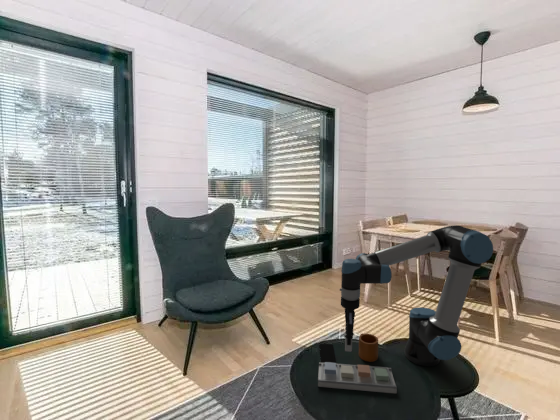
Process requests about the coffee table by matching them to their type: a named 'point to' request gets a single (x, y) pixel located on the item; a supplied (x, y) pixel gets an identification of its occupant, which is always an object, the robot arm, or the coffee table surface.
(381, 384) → the keypad
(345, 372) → the key cream
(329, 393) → the coffee table surface
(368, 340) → the mug
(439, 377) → the coffee table surface
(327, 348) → the smartphone
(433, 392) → the coffee table surface
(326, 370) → the key blue
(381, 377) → the key sage
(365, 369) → the key terracotta
